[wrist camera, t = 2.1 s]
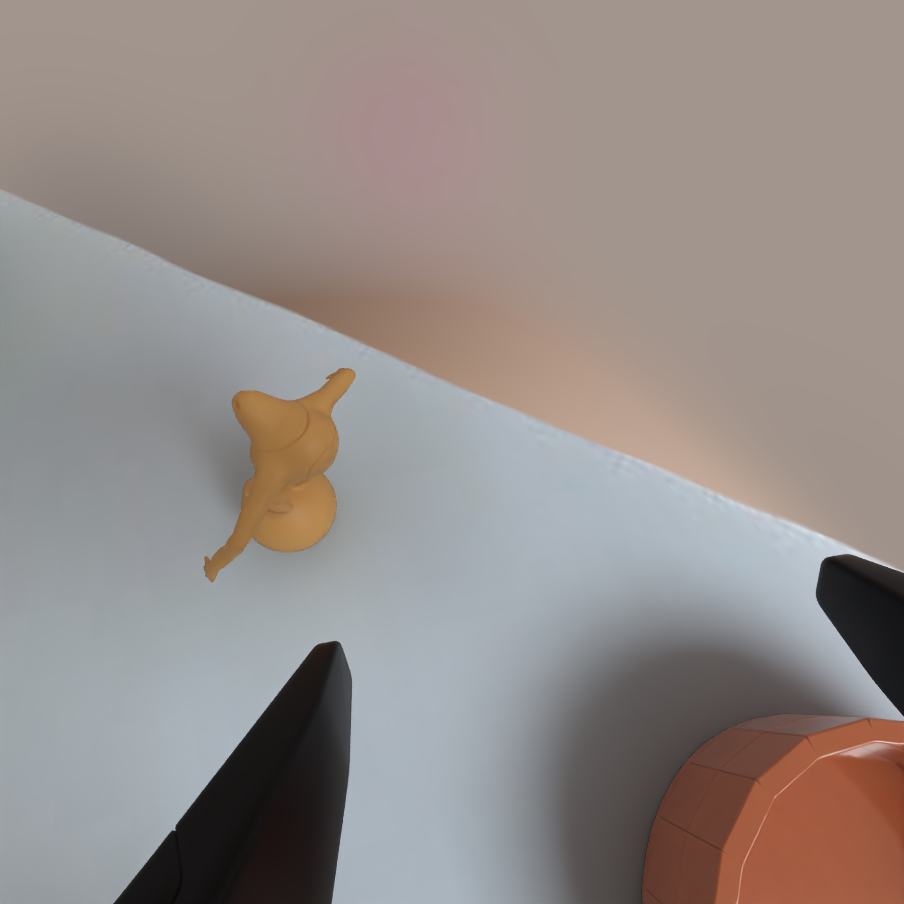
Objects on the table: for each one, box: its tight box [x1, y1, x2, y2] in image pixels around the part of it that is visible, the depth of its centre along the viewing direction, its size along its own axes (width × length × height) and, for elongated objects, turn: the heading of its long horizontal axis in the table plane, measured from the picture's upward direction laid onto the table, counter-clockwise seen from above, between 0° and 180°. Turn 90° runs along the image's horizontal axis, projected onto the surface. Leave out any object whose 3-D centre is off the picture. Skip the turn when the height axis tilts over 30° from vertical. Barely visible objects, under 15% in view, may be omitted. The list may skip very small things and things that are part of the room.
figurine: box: [204, 368, 355, 582], centre depth 18 cm, size 8×6×12 cm
